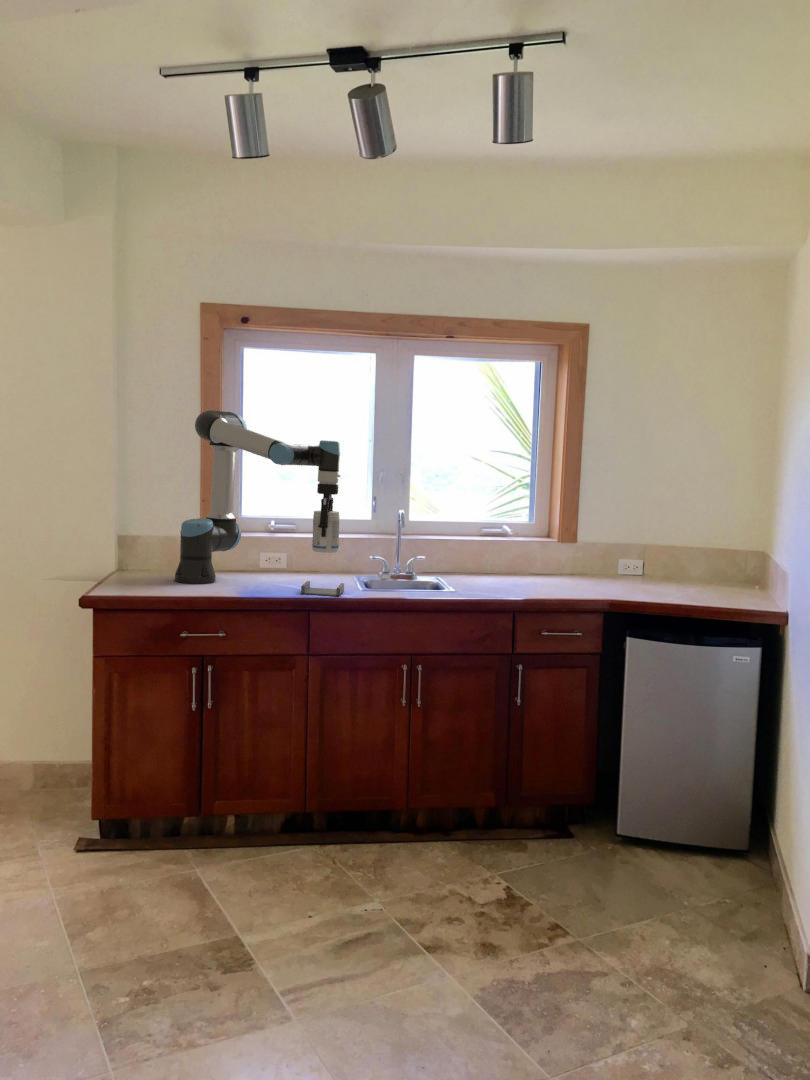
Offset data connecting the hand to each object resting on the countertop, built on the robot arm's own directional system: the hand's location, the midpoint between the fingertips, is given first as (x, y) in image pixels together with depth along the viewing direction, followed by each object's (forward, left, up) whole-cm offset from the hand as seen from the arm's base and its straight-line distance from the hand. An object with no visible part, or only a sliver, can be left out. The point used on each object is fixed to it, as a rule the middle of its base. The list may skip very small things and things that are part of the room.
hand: (325, 544), depth 329 cm
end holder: (0, 0, -18) cm, 18 cm away
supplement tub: (0, 0, -3) cm, 3 cm away
